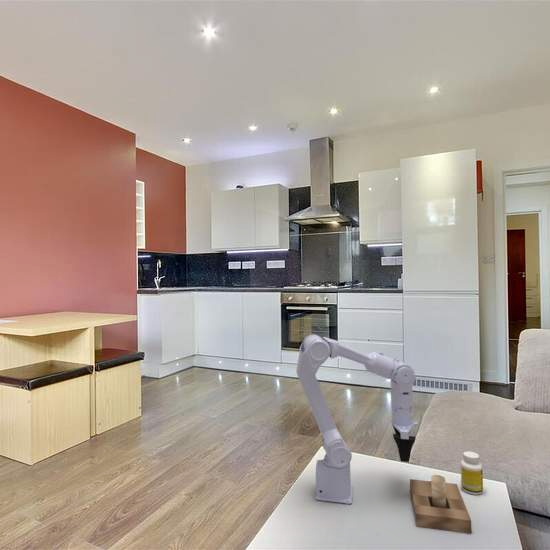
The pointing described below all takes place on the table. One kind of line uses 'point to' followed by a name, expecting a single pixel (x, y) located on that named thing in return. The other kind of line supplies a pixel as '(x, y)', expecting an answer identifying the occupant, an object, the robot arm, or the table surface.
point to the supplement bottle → (471, 474)
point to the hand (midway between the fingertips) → (403, 454)
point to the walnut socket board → (435, 517)
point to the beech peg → (438, 491)
